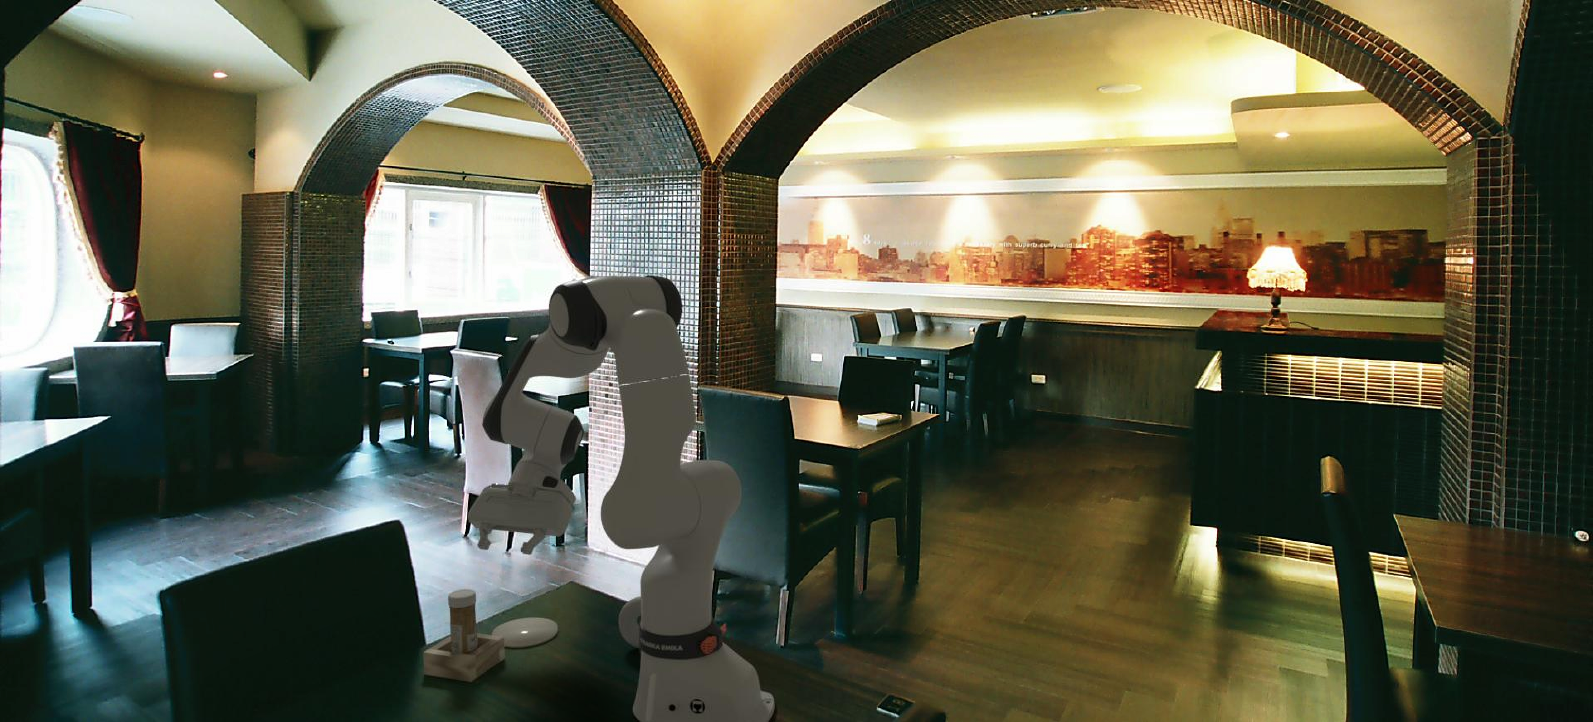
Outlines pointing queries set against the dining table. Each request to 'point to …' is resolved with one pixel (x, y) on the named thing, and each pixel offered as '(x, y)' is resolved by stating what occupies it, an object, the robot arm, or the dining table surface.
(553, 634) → the white domed disc
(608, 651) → the dining table surface
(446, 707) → the dining table surface
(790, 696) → the dining table surface
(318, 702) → the dining table surface
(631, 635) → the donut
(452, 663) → the holder collar
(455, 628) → the sprinkles bottle
